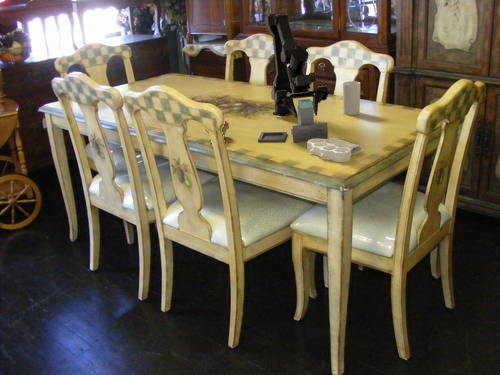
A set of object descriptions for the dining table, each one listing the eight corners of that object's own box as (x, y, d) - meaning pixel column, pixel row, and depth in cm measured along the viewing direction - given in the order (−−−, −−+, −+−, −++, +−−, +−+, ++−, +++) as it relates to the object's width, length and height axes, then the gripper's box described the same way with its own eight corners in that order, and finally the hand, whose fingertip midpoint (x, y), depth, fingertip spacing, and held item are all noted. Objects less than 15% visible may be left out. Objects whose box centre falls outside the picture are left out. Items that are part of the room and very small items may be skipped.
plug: (298, 136, 213) (297, 100, 208) (310, 134, 213) (309, 98, 209) (301, 139, 209) (300, 102, 204) (314, 138, 209) (313, 101, 205)
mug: (363, 114, 234) (363, 83, 230) (347, 116, 232) (347, 85, 228) (351, 108, 243) (351, 79, 239) (336, 110, 241) (336, 81, 237)
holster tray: (261, 135, 216) (261, 132, 216) (286, 135, 215) (286, 131, 214) (258, 143, 208) (258, 139, 207) (284, 142, 206) (283, 139, 206)
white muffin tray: (368, 155, 190) (332, 166, 183) (331, 143, 204) (297, 152, 197) (368, 145, 189) (332, 156, 182) (331, 133, 203) (296, 142, 196)
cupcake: (206, 136, 219) (203, 104, 215) (229, 134, 220) (226, 102, 215) (206, 143, 211) (203, 109, 207) (230, 141, 212) (228, 108, 207)
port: (286, 135, 214) (285, 119, 212) (319, 131, 216) (318, 115, 214) (293, 143, 205) (293, 126, 202) (327, 140, 206) (327, 123, 204)
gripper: (274, 67, 204) (283, 106, 198) (327, 62, 207) (337, 101, 201) (270, 85, 214) (278, 123, 208) (321, 80, 217) (330, 118, 211)
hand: (306, 116), depth 207 cm, fingers open, 7 cm apart
